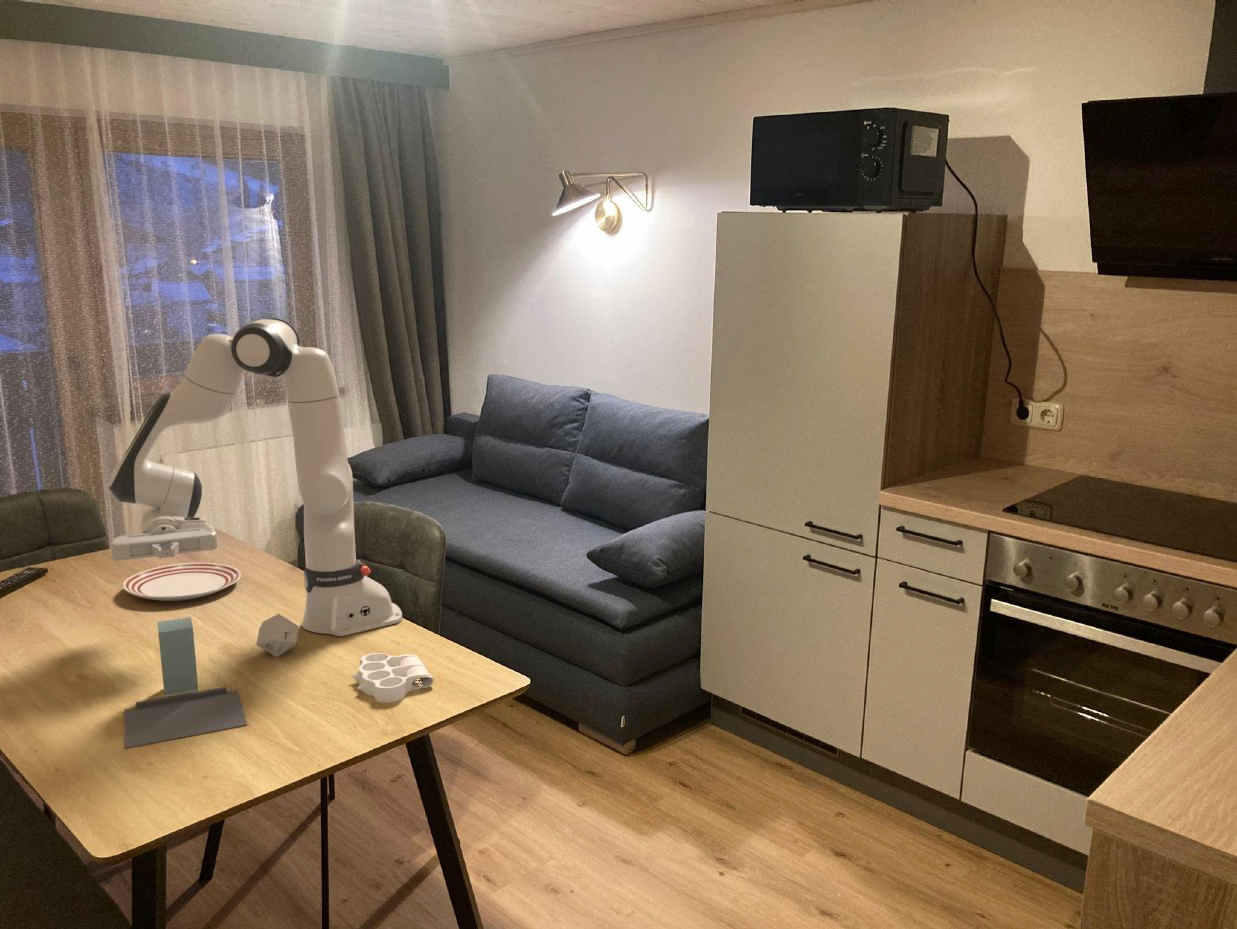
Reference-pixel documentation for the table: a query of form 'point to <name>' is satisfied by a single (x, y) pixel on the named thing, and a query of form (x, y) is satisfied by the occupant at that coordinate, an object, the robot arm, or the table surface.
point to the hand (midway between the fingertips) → (166, 553)
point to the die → (277, 635)
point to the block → (178, 656)
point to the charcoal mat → (183, 716)
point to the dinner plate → (181, 581)
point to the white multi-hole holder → (391, 676)
